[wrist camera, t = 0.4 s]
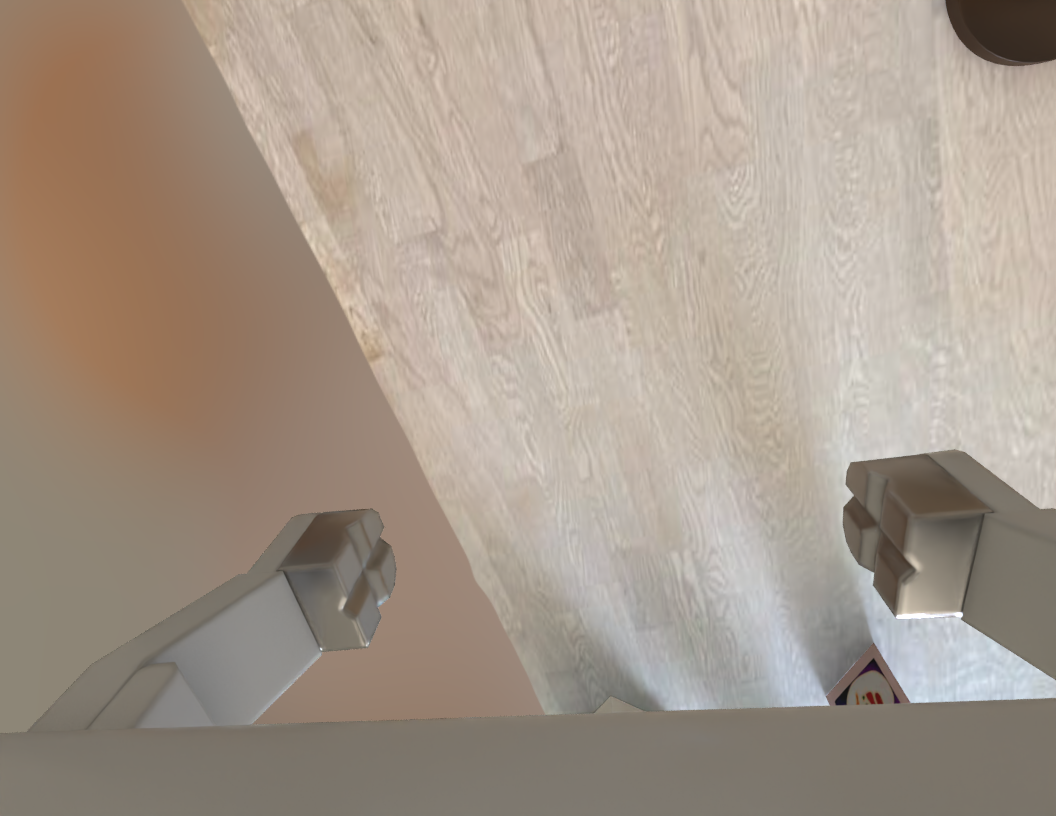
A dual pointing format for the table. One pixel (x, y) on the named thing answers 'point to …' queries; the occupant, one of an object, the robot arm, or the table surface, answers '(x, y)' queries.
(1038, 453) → the table surface
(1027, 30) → the turntable
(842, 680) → the greeting card
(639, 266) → the table surface
